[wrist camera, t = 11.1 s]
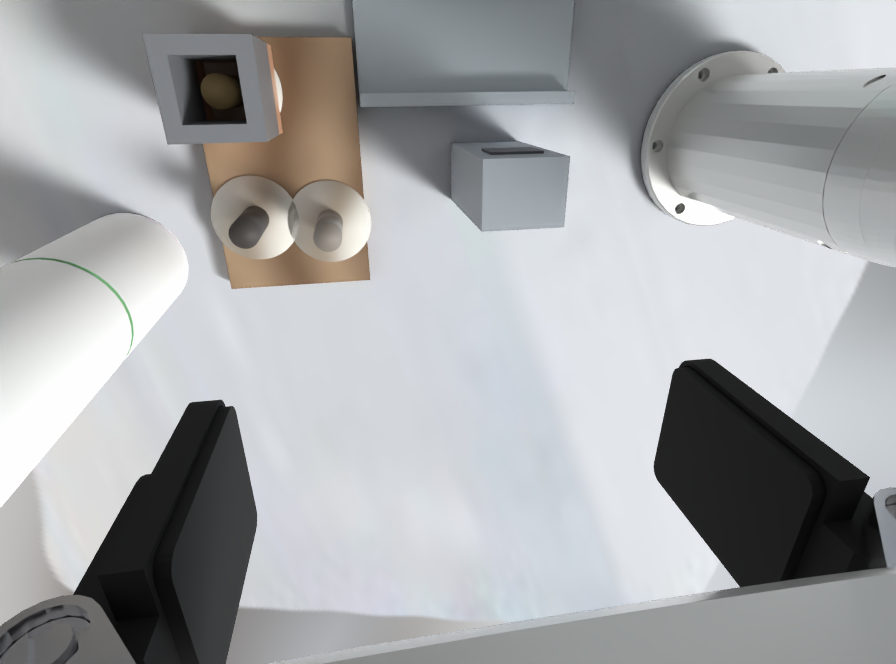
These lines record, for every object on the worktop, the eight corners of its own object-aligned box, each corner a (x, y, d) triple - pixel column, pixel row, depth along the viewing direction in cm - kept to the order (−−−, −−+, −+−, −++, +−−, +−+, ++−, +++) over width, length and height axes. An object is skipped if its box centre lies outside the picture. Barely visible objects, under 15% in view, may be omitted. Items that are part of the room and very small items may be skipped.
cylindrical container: (53, 242, 35) (-456, 499, 13) (144, 194, 35) (-216, 374, 13) (125, 325, 39) (-183, 646, 16) (209, 282, 38) (13, 548, 16)
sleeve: (270, 45, 32) (251, 33, 25) (282, 132, 34) (267, 141, 28) (184, 45, 31) (142, 33, 25) (202, 134, 33) (167, 144, 27)
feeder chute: (573, -30, 34) (585, -37, 32) (562, 103, 37) (573, 103, 35) (349, -36, 32) (349, -44, 30) (360, 106, 35) (360, 107, 33)
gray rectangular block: (518, 139, 38) (570, 153, 29) (515, 196, 40) (563, 227, 31) (450, 140, 37) (483, 156, 28) (451, 199, 39) (481, 231, 30)
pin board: (357, 39, 33) (358, 29, 28) (374, 274, 40) (378, 300, 35) (180, 38, 32) (147, 28, 27) (229, 283, 39) (211, 312, 33)
